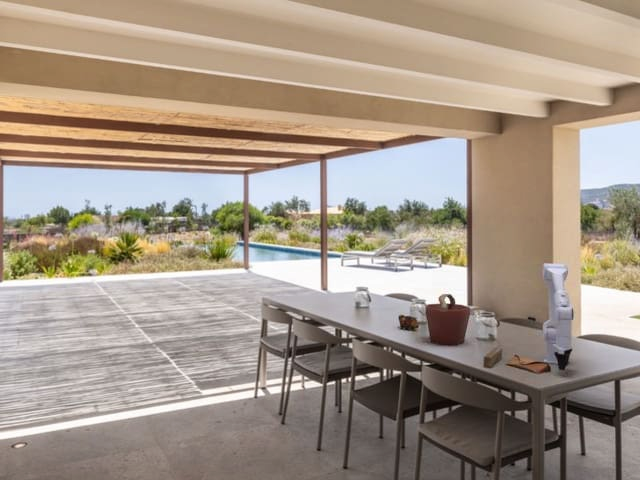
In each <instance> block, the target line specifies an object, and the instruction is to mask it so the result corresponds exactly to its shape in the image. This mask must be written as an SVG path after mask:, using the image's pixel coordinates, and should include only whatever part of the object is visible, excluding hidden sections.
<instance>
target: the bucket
mask: <svg viewBox="0 0 640 480" xmlns="http://www.w3.org/2000/svg"><path fill="white" fill-rule="evenodd" d="M446 298H448V300H449V303H446ZM438 302H439V303H428V304H427V305H426V306H425V318H426V324H427V329H428V334H429V340H430V343H431V344H434V345H438V346H445V347H446V346H449V347H452V346H453V347H457V346H460V345H463V344H464V343H465V339H466V338H465V337H466V333H467V329H468V325H469V320H470V316H471V307H468V306H466V305H464V304H457V303H456V299H455V297H454V296H453V295H452V294H451V293H442V294H441V295H440V296H438Z"/></svg>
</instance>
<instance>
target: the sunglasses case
mask: <svg viewBox="0 0 640 480" xmlns="http://www.w3.org/2000/svg"><path fill="white" fill-rule="evenodd" d="M504 366H508V367H512V368H516V369H519V370H524V371H527V372H529V373H530V372H531V373H532V374H533V373H534V374H537V375H541V374H545V373H549V372H551V371H552V370H551V369H552V368H551V366H550V363H547V362H544V361H538V360H536V359H531V358H529V357H524V356H520V355H517V354H514V355H513V356H512V357H511V358H510V359H508V361H507V362H506V363H504Z"/></svg>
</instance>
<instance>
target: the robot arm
mask: <svg viewBox="0 0 640 480" xmlns="http://www.w3.org/2000/svg"><path fill="white" fill-rule="evenodd" d="M541 271H542V282H544V283H546V285H547V292H548V293H547V294H548V296H547V297H548V299H547V300H548V319H547V321H545V322H544V323H543V324H542V331H541V332H542V334H541V336H542V339H543V340H544V341H545V358H544V359H543V362H545V363H547V364H555V365H556V364H557V367H558V370H559V371H565V370H566V367H567V366H568V364H569V362H570V356H571V353H572V351H573V348H572V347H573V346H572V329H573V328H572V327H573V326H572V325H573V324H572V323H573V322H572V321H574V318H575V317H574V315H575V311H574V307H573V305H572V304H571V303H570V298H569V297H570V296H569V294H568V292H567V291H566V288H565V282H566V280H567V277H568V276H569V267H568V265H567V263H546V262H545V263H543V264H542V269H541Z"/></svg>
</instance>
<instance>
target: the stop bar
mask: <svg viewBox="0 0 640 480" xmlns="http://www.w3.org/2000/svg"><path fill="white" fill-rule="evenodd" d="M502 357H503V348H502V347H496V346H495V347H494V348H492V349H491V350H490V351H489V352H487V353H486V354H485V355H483V368H488V369H491V368H492V367H494V366H495V364H497V363H499V361H500V360H501V359H502Z"/></svg>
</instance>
